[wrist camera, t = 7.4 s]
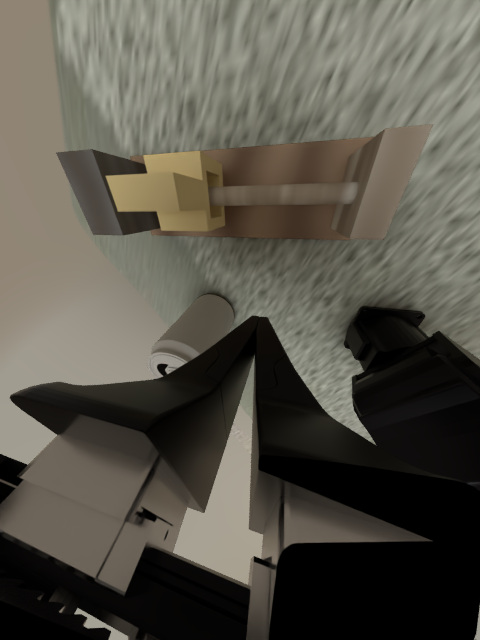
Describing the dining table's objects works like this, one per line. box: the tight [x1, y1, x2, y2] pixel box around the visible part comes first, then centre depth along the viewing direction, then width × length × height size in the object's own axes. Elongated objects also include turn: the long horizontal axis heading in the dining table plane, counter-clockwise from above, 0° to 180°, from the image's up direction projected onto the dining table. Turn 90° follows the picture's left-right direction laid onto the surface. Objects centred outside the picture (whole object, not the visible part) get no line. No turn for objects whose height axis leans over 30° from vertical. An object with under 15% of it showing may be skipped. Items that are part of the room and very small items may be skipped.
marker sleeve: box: [106, 151, 225, 232], centre depth 12 cm, size 4×4×8 cm
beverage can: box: [147, 294, 234, 379], centre depth 21 cm, size 6×6×12 cm
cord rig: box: [56, 124, 433, 240], centre depth 14 cm, size 22×7×8 cm, turn 91°
